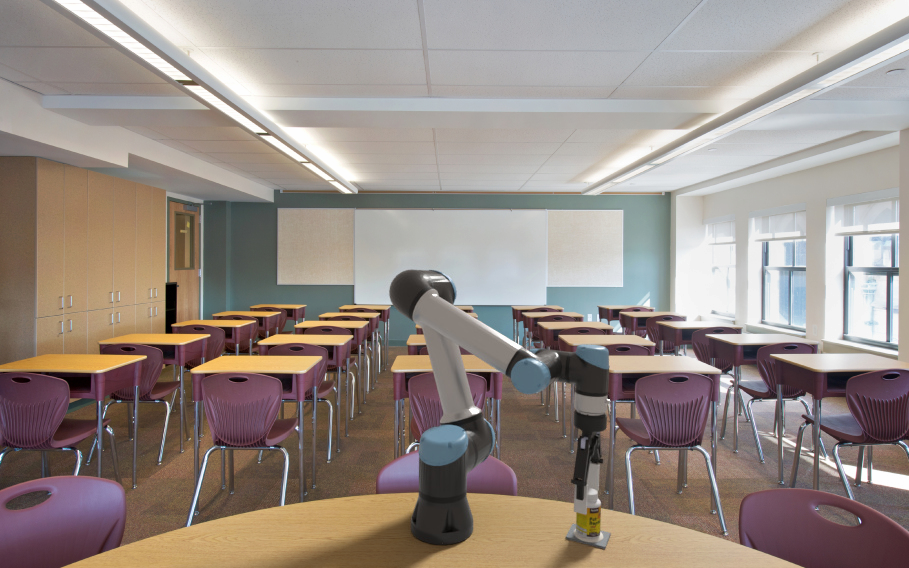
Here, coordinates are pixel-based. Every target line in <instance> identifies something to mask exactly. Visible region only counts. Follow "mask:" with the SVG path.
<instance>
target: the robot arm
mask: <svg viewBox="0 0 909 568" xmlns="http://www.w3.org/2000/svg"><path fill="white" fill-rule="evenodd" d="M388 291H389V293H388V296H389V299H390V302H391V304H392V306H393V307H394V309H396V310H397V311H398V312H399V313H400V314H402V315H403V316H404V317H406V318H407V319H409V320H411V322H414V324H416V325H418V326H419V327H420V328H421V329H422V333H423V338H424V341H425V344H426V348H427V353H428V356H429V360H430V365H431V369H432V373H433V376H434V381H435V385H436V388H437V393H438V396H439V400H440V405H441V408H442V412H443V415H442V416H441V418H440V420H439V423H440V425H439V426H432V427H430V428H428V429H427V430H425V431H423V433H422V434H421V436H420V438H419V446H418V452H417V453H418V497H417V500H416V502H415V507H414V509H413V512H412V514H411V518H410V531H411V533H412V535H413V536H414V537H415V538H416V539H418V540H420V541H421V542H423V543H428V544H432V545H453V544H457V543H460V542H463V541H465V540H468V538H469V537H471V535H472V534H473V533H474V516H473V514H472V510H471V506H470V504H469V500H468V494H467V492H468V491H467V486H468V485H467V484H468V479H467V478H468V474H469V473H470V472H471V471H473V470H474V469H475V468H476V467H478V466H479V465H480V464H482V463H484V462H485V461H486V460H487V459H488V458H489V456H490V455H491V453H492V452H493V451H494V448H495V445H496V433H495V430H494V428H493V426H492V424H491V423H490V422H489V421H487V419H486V418H484V416H483V415H484V414H483V412H482V411H483V410H482V409H481V408H479V407H478V406H476V405H475V402H474V399H473V396H472V392H471V388H470V384H469V379H468V375H467V373H466V368H465V366H464V365H465V364H464V362H463V360H464V359H463V357H462V353H461V350H460V348H462V349H464V350H465V351H466V352H468V353H470V354H472V355H474V357H475V358H478V359H479V360H481V361H482V362H484V363H486V364H487V365H489V366H491V367H492V368H493V369H496V371H498V372H500V373H501V374H503V375H504V376H506V377H508V378H509V379H510V380H511V383H512V385H513V387H514V389H516V390H517V391H518V392H520V393H522V394H524V395H534V394H537V393H539V392H540V393H541V392H542V391H543V390H545V389H546V388H548V386H550V385H552V384H553V383H566V384H571V385H572V384H574V396H573V397H574V400H573V401H574V403H573V408H574V409H575V410H574V412H573V426H574V427H575V428H577V429H578V430H580V431H581V432H582V433H581V435H579V437H578V438H577V440H576V441H577V448H576V455H575V461H574V471H573V478H571V480H570V483H571V484H572V485H574V492H573V493H574V495H573V497H574V498H573V512H574V513H576V512H577V513H581V514H585V515H586V514H587V493H588V488H592V489H595V490H596V491H597V492H599V491H600V490H599V489H600V467H601V464H602V465H603V463H604V459H603V458H602V457H603V454H602V439H601V432H604V431H606V430H607V425H608V414H607V413H606V412H608V405H609V404H610V403H611V400H610V399H608V394H609V379H610V354H609V353H610V352H609V349H608V348H607V347H606V346H603V345H599V344H585V343H584V344H583V343H582V344H579V345H577V347H576V350H575V351H573V352H572V351H565V350H564V351H563V350H555V349H547V348H545V347H544V348H543V347H542V348H534V347H533V348H530V349H529V350H528V349H527V348H525V347H523V346H522V345H521V344H519V343H517V342H515V341H514V340H512V339H511V338H509V337H508V336H505V335H504V334H502V333H501V332H499V331H497V330H495V329H494V328H493V327H491V326H489V325H487V324H485V323H484V322H482V321H481V320H479V319H477V318H475V317H474V316H472V315H470V314H469V313H468V312H466V311H464V310H462V309H460V308H459V307H457V306H455V305H454V304H455V301H456V299H457V295H458V294H457V287H456V284H455V282H454V280H453V279H452V277H450V276H449V275H448V274H447V273H444V272H442V271H439V270H434V269H428V270H427V269H425V270H423V269H406V270H403V271H401V272H400V273H398V274H397V275H396V276H395V277H394V278H393V279H392V280H391V283H390V286H389V289H388Z"/></svg>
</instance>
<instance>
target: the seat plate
mask: <svg viewBox="0 0 909 568" xmlns="http://www.w3.org/2000/svg"><path fill="white" fill-rule="evenodd" d="M611 535H612V534H611V532H609V531H604V530H602V529H600V536H599V537H598V538H596V539H586V538H583V537H581V536H579V535H578V534H577V532H576V523H572V524H571V526H570V527H569V530H568V531H567V533H566V535H565V540H569V541H571V542H572V541H573V542H577V543H581V544H584V545H587V546H590V547H595V548H600V549H602V550H606V548H607V546H608V542H609V540H610V538H611Z"/></svg>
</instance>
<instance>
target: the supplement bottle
mask: <svg viewBox="0 0 909 568" xmlns="http://www.w3.org/2000/svg"><path fill="white" fill-rule="evenodd" d="M598 493H599V491H596V490H595V489H592V488H588V493H587V514H586V515H585V514H581V513H577V512H575V513H576V515H575V516H576V517H575V518H576V519H575V521H576V523H575V524H576V532H577V534H578V535H579V536H581V537H583V538H586V539H596V538H598V537H599V536H600V530H601V524H602V523H601V519H602V518H601V517H602V513H601V511H602V502H601V500H600V499H599V494H598Z"/></svg>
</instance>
